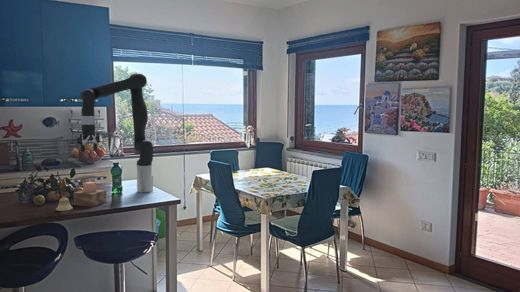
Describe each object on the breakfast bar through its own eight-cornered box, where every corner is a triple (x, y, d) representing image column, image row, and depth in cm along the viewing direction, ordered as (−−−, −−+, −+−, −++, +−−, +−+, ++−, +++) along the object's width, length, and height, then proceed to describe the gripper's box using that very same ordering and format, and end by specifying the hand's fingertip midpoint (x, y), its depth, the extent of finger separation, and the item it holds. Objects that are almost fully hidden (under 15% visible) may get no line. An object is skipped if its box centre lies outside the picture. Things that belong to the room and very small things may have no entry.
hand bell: (54, 211, 216) (53, 181, 214) (57, 207, 224) (56, 178, 222) (71, 210, 218) (70, 180, 216) (74, 206, 226) (73, 177, 224)
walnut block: (88, 200, 242) (88, 188, 241) (106, 202, 238) (105, 190, 238) (73, 205, 231) (73, 192, 230) (91, 207, 227) (91, 194, 226)
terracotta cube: (90, 190, 237) (90, 181, 237) (96, 191, 235) (96, 182, 234) (83, 191, 233) (83, 182, 233) (89, 192, 231) (89, 183, 230)
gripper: (93, 123, 252) (94, 149, 254) (73, 123, 240) (74, 151, 241) (102, 123, 249) (103, 150, 251) (82, 124, 236) (83, 152, 238)
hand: (89, 151), depth 246 cm, fingers open, 8 cm apart
